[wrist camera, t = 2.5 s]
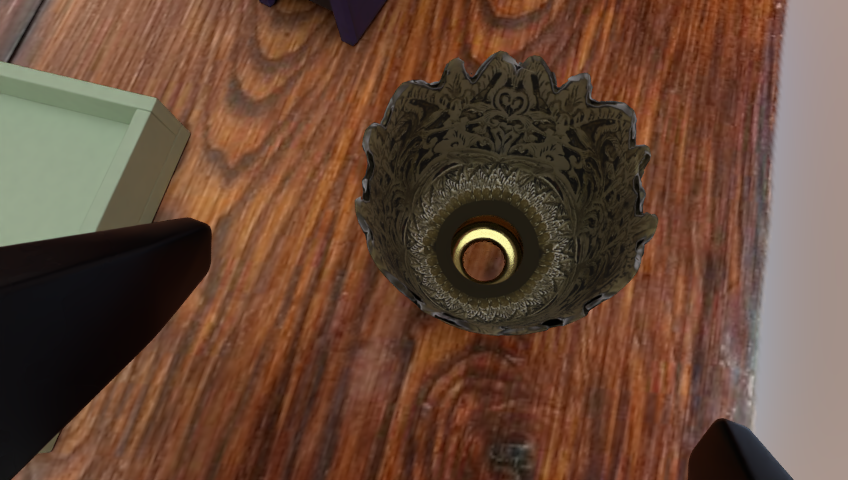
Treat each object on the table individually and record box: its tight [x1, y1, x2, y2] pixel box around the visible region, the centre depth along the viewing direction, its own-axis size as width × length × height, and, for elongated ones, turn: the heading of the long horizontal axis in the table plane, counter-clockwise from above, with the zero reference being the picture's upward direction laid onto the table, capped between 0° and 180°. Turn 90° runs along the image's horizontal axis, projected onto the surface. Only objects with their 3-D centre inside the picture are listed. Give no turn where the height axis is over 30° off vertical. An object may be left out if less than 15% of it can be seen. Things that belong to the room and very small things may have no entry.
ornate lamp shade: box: [355, 51, 658, 336], centre depth 17 cm, size 8×7×8 cm
